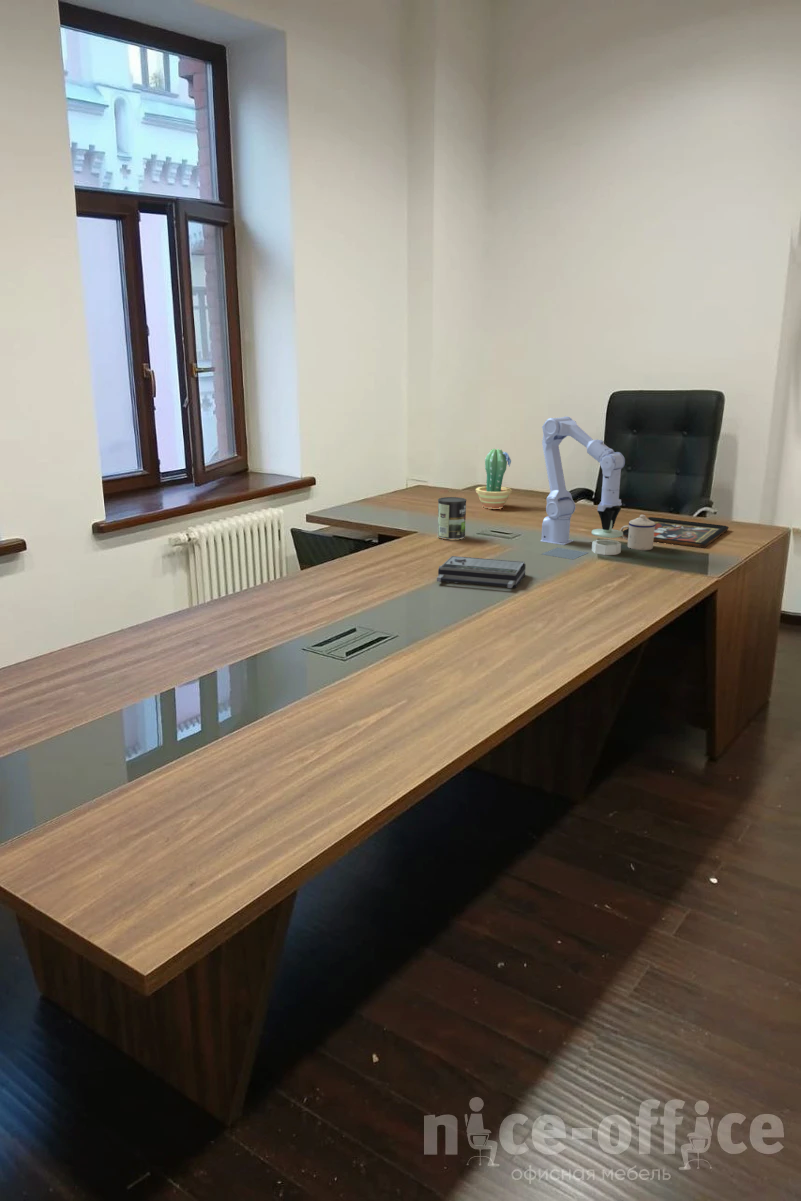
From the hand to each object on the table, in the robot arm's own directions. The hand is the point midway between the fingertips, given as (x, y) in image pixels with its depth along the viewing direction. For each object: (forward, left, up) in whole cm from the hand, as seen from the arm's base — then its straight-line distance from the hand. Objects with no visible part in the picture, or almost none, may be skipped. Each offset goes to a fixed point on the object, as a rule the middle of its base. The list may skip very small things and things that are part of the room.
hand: (607, 528), depth 304 cm
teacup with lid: (+5, +14, -8) cm, 17 cm away
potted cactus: (-72, +45, -8) cm, 85 cm away
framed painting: (+8, +43, -9) cm, 45 cm away
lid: (0, 0, -2) cm, 2 cm away
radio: (-16, -55, -9) cm, 58 cm away
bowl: (0, 0, -8) cm, 8 cm away
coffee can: (-55, -13, -9) cm, 57 cm away
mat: (-10, -11, -8) cm, 17 cm away
